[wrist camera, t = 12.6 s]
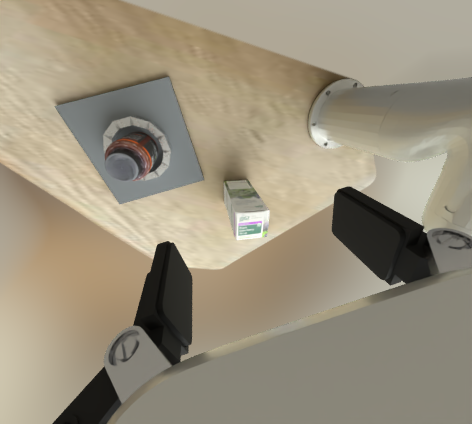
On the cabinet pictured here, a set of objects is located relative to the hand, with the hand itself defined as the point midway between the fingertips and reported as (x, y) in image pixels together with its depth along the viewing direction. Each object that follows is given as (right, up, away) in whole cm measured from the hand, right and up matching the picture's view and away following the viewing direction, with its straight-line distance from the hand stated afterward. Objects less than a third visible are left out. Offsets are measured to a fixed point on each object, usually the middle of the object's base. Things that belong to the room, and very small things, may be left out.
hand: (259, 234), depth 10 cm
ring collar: (-19, +13, +24) cm, 33 cm away
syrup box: (-1, +6, +32) cm, 33 cm away
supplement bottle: (-18, +13, +23) cm, 32 cm away
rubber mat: (-19, +13, +24) cm, 33 cm away
